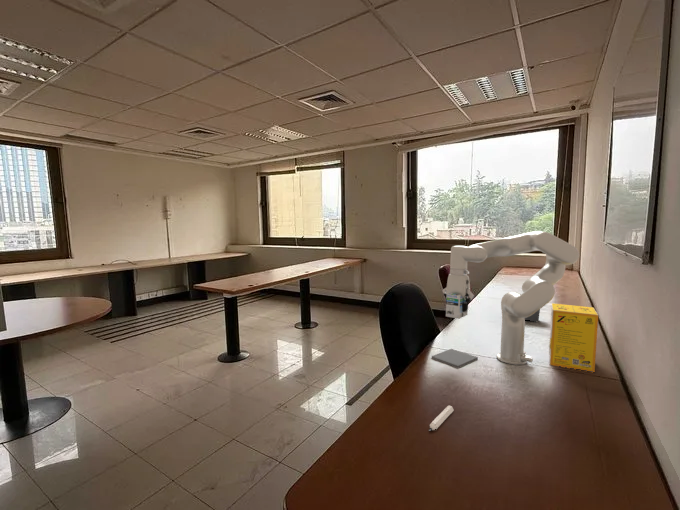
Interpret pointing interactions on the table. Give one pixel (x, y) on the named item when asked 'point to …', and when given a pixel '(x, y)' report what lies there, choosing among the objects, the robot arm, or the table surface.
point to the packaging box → (573, 336)
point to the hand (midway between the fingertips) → (456, 309)
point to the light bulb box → (454, 306)
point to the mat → (454, 358)
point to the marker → (441, 418)
